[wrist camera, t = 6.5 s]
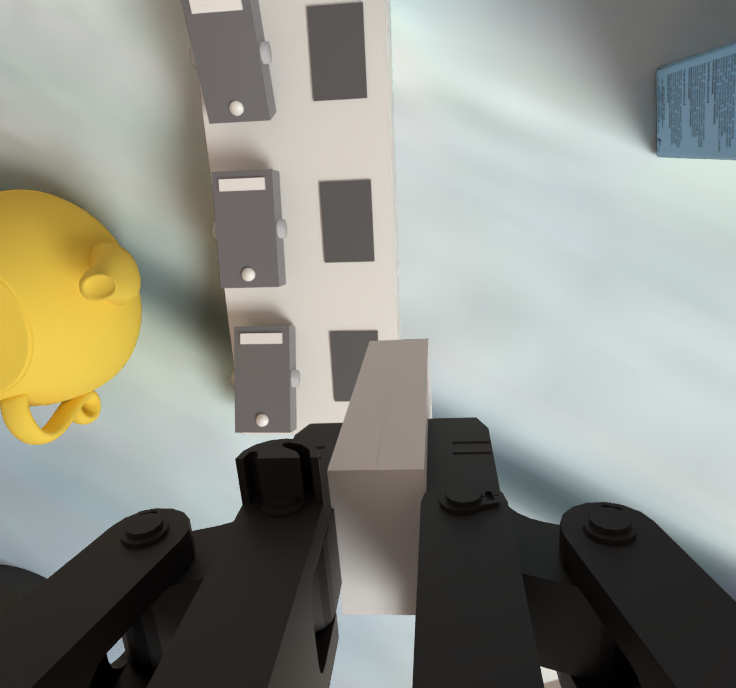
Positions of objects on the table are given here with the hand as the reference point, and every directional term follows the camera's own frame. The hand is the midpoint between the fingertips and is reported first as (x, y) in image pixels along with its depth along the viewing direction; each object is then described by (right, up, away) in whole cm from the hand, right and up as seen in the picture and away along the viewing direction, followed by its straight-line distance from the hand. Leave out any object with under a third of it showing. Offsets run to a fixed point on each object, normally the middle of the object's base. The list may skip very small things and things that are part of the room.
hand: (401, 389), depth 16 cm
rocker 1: (-8, +15, +14) cm, 22 cm away
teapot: (-20, +4, +25) cm, 33 cm away
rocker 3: (-7, -1, +19) cm, 20 cm away
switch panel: (-4, +9, +22) cm, 24 cm away
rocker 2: (-7, +7, +17) cm, 20 cm away
